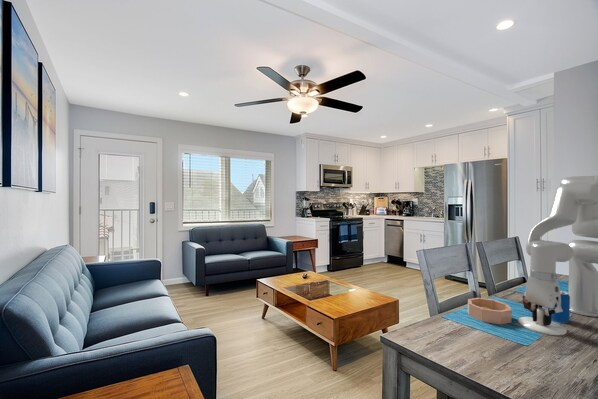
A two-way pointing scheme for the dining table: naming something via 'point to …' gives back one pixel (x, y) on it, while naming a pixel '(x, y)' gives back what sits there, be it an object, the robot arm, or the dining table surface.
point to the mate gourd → (525, 302)
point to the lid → (538, 325)
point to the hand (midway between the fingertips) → (541, 322)
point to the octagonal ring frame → (489, 311)
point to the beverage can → (565, 306)
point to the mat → (534, 331)
